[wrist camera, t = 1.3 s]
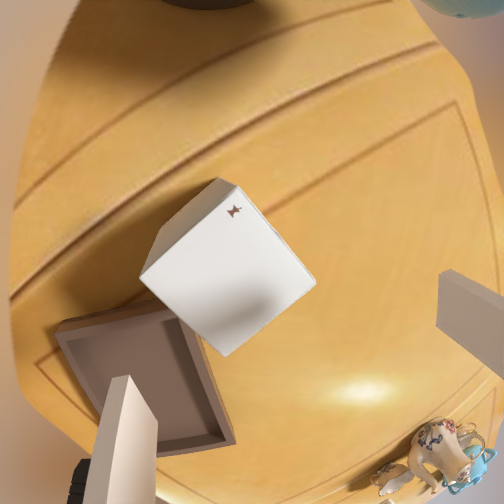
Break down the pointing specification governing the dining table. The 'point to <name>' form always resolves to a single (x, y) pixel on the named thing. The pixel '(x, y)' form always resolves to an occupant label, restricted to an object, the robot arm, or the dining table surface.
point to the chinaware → (433, 456)
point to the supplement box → (224, 267)
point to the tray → (151, 371)
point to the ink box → (388, 502)
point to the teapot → (476, 470)
